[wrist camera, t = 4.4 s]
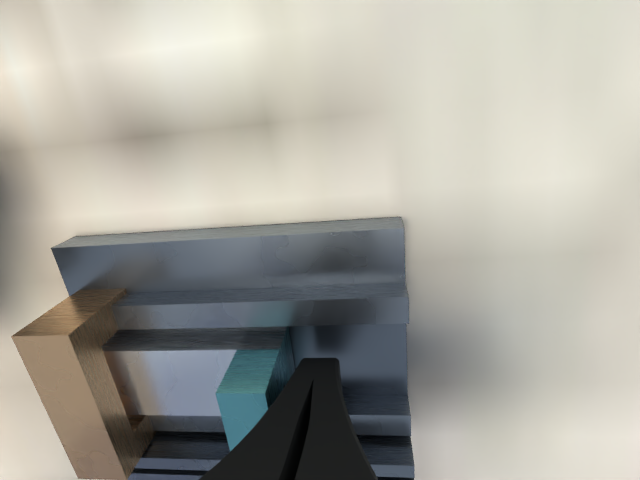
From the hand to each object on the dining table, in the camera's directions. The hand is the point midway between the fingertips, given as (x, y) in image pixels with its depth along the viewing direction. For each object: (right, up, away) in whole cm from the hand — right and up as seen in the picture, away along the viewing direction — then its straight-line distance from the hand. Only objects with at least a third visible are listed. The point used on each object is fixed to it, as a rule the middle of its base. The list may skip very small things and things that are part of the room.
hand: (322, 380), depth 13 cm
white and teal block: (-5, 0, +2) cm, 5 cm away
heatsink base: (-3, +1, +3) cm, 4 cm away
